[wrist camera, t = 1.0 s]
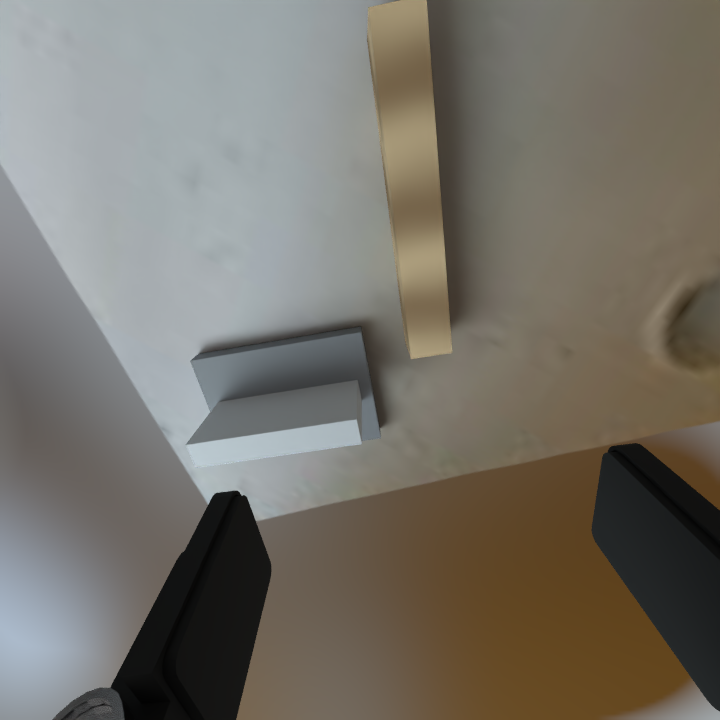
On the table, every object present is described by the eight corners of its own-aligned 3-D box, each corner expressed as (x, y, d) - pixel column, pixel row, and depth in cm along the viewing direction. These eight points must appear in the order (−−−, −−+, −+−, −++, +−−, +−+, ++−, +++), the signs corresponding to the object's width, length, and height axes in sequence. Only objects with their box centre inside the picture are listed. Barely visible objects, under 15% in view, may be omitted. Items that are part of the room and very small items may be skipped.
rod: (367, 42, 22) (368, 7, 18) (415, 32, 22) (426, -6, 18) (404, 340, 29) (411, 359, 26) (440, 335, 29) (452, 352, 26)
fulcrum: (198, 354, 30) (148, 397, 23) (361, 326, 29) (360, 362, 22) (234, 449, 33) (201, 511, 26) (379, 428, 32) (384, 486, 25)
